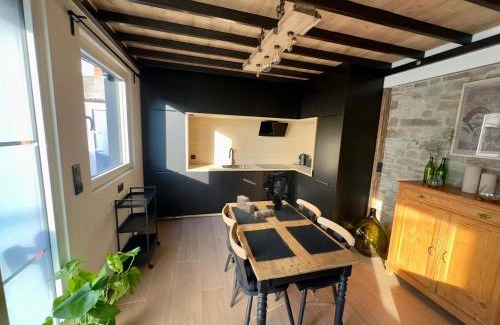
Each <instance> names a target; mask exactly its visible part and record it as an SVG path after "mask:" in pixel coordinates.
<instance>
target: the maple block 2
mask: <svg viewBox="0 0 500 325" xmlns="http://www.w3.org/2000/svg"><path fill="white" fill-rule="evenodd" d="M266 211H267V213H268V214H269V215H271V214H274V213H275V210H274V209H272V208H269V209H266Z"/></svg>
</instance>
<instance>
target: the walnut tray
mask: <svg viewBox="0 0 500 325" xmlns="http://www.w3.org/2000/svg"><path fill="white" fill-rule="evenodd" d="M251 217H253V218H254V219H255V220H256V221H257V220H262V219H263V220H265V219H268V218H274V217H277V213H275V212H274V214H271V215H269V214H268V213H267V215H265V216H263V215H261V216H259V217H256V216H255V215H254V213H251Z"/></svg>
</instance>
